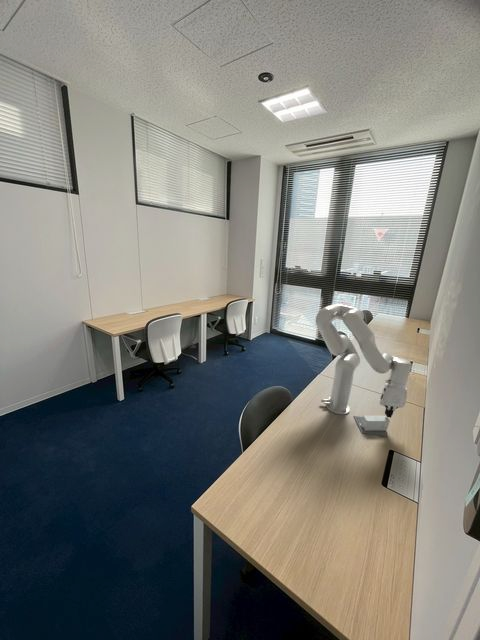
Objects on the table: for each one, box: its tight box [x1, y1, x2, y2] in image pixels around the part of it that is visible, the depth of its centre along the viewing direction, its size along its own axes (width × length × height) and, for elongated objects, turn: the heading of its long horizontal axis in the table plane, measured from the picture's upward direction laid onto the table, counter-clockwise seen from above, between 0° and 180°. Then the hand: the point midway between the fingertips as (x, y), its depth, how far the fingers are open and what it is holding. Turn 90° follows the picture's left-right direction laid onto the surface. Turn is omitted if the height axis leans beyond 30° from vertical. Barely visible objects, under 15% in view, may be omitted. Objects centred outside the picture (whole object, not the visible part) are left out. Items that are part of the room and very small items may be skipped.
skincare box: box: [361, 415, 391, 431], centre depth 132 cm, size 6×4×12 cm
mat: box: [353, 415, 388, 438], centre depth 134 cm, size 12×13×1 cm
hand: (388, 415), depth 131 cm, fingers closed
